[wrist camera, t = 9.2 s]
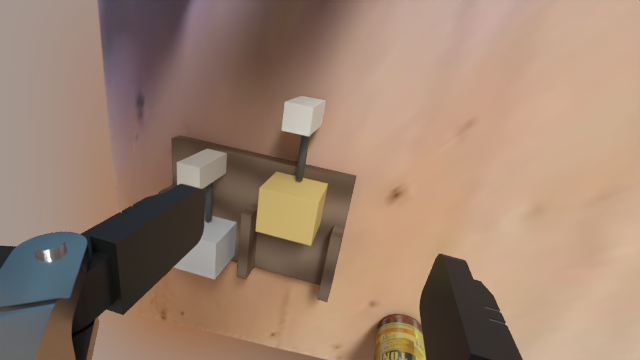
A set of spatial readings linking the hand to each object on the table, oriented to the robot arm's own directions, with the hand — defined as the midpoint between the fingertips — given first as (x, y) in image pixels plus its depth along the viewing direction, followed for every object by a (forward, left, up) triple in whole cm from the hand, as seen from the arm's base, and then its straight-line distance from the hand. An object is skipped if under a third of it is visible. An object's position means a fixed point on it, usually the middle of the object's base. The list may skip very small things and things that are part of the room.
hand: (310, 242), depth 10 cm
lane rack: (+13, -10, -24) cm, 29 cm away
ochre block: (+5, -5, -22) cm, 23 cm away
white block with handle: (+13, -16, -22) cm, 30 cm away
